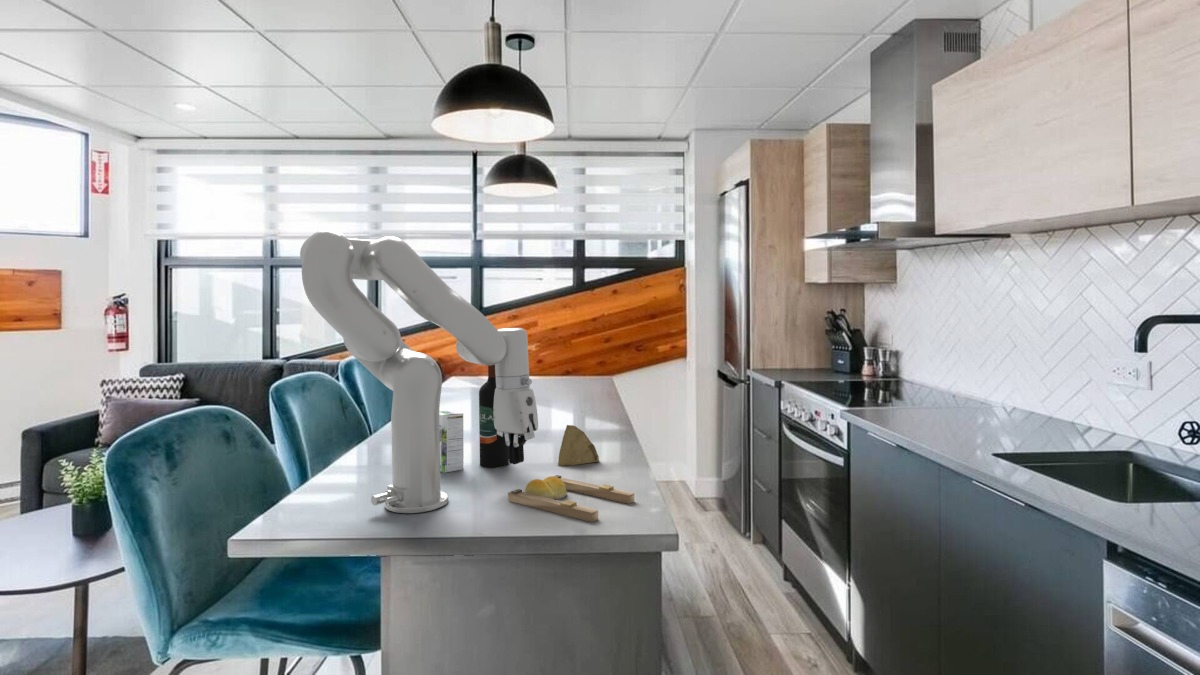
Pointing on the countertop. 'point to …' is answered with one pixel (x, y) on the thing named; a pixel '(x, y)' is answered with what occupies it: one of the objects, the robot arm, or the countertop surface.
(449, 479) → the countertop surface
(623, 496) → the slot rails
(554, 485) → the bread roll
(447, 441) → the syrup box
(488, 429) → the wine bottle
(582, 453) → the rock
